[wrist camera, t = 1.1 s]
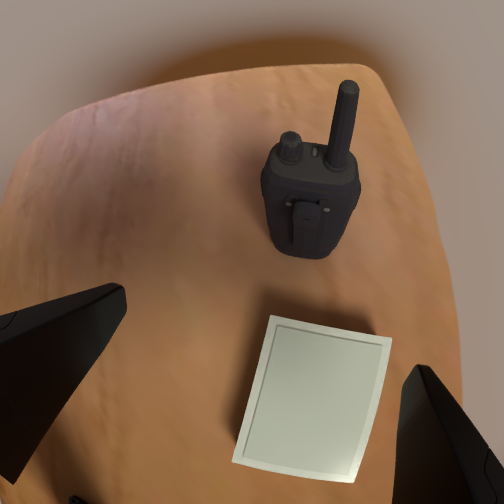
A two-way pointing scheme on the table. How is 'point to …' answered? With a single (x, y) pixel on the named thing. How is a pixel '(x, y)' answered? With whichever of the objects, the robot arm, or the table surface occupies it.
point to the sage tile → (312, 400)
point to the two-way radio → (313, 185)
